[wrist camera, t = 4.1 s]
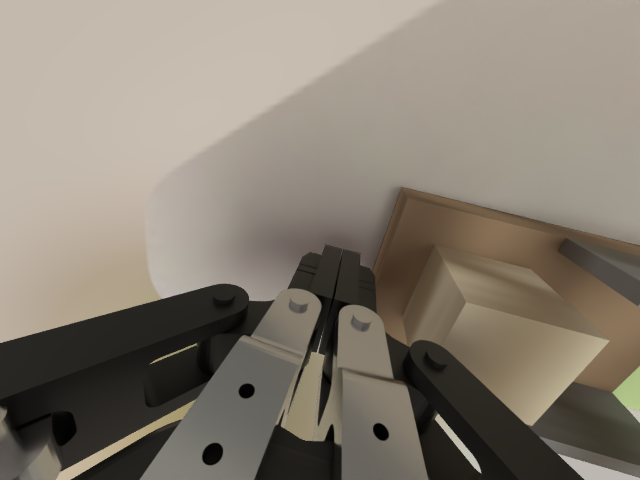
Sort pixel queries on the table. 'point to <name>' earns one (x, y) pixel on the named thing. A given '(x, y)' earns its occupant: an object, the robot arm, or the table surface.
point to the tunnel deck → (564, 278)
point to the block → (502, 328)
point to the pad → (630, 391)
